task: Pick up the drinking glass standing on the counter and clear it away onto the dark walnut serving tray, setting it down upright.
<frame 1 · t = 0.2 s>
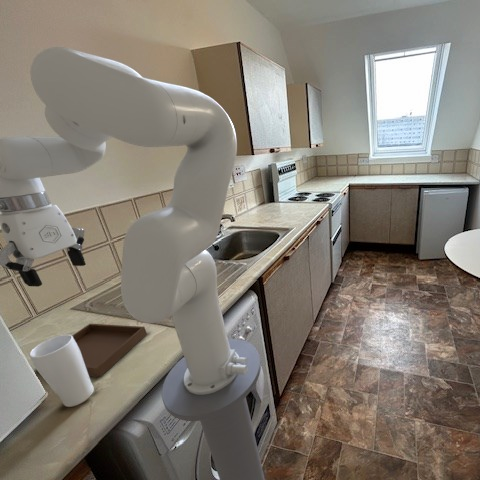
hand: (59, 274, 62), 25 cm above the table, tool pointing down, fingers open, 9 cm apart
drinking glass: (80, 397, 60), on the table
tray: (96, 351, 74), on the table
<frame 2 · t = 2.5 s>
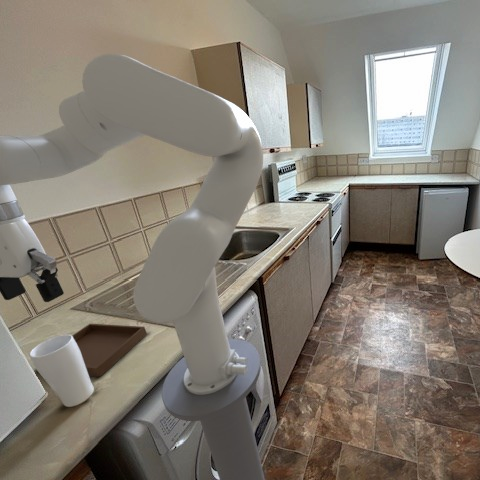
hand: (35, 297, 53), 25 cm above the table, tool pointing down, fingers open, 9 cm apart
nothing on the table moved.
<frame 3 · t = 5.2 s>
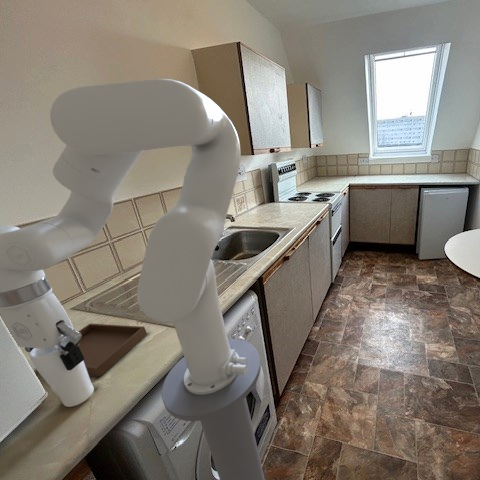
hand: (61, 363, 56), 10 cm above the table, tool pointing down, fingers closed on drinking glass, 6 cm apart
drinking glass: (80, 397, 60), on the table, touching gripper
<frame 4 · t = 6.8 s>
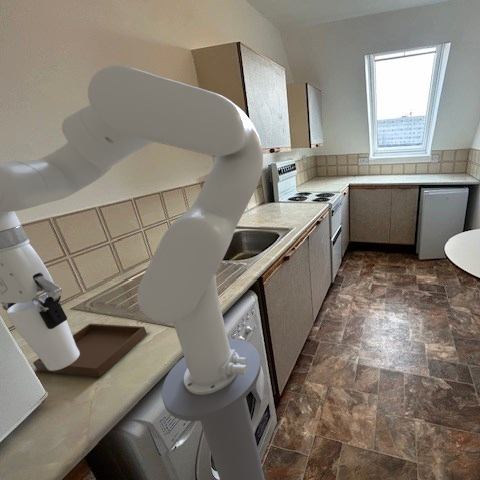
hand: (42, 323, 53), 20 cm above the table, tool pointing down, fingers closed on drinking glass, 6 cm apart
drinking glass: (65, 362, 56), point 10 cm above the table, touching gripper
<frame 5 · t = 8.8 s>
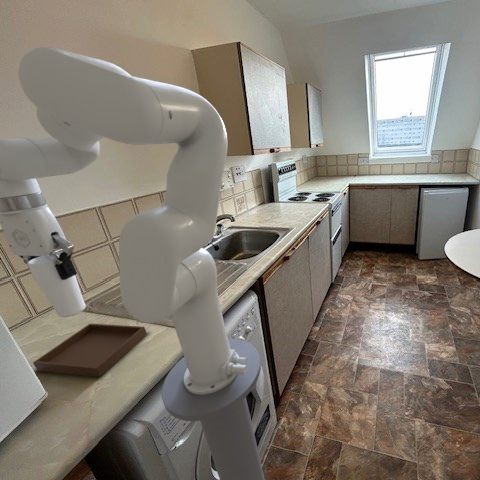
hand: (56, 276, 63), 25 cm above the table, tool pointing down, fingers closed on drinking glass, 6 cm apart
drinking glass: (73, 312, 67), point 14 cm above the table, touching gripper
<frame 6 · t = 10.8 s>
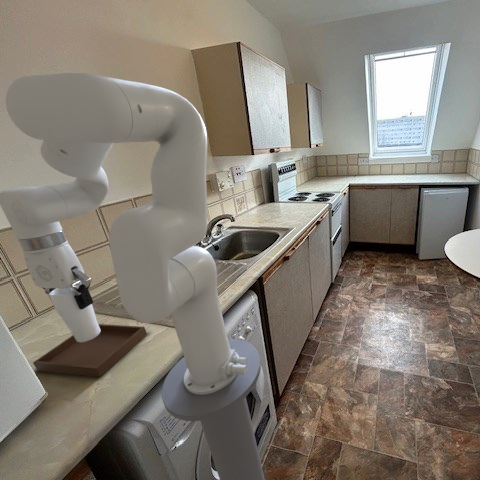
hand: (74, 305, 68), 15 cm above the table, tool pointing down, fingers closed on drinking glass, 6 cm apart
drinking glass: (89, 337, 72), point 5 cm above the table, touching gripper
when the fingers open (11 cm above the table, at t = 12.5 s): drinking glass stays where it is, resting on tray.
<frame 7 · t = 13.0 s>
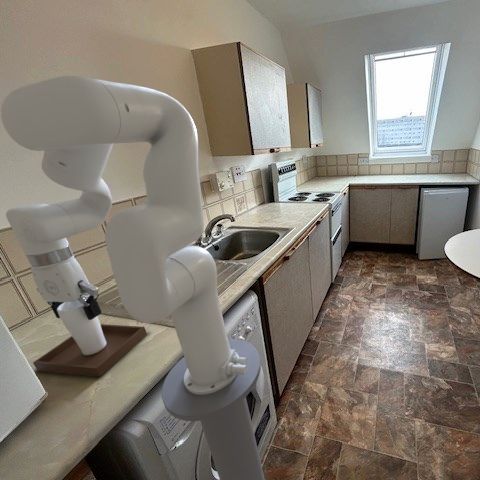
hand: (79, 315, 69), 12 cm above the table, tool pointing down, fingers open, 9 cm apart
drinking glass: (95, 349, 73), point 1 cm above the table, touching tray
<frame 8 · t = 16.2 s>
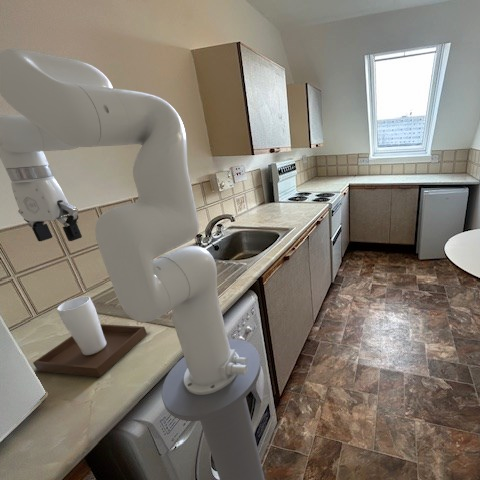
hand: (60, 239, 71), 30 cm above the table, tool pointing down, fingers open, 9 cm apart
nothing on the table moved.
at the end: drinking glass inside the target area in the tray (0.1 cm from its centre), point 0.6 cm above the tray's base; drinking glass tilted 0°; the gripper is holding nothing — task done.
